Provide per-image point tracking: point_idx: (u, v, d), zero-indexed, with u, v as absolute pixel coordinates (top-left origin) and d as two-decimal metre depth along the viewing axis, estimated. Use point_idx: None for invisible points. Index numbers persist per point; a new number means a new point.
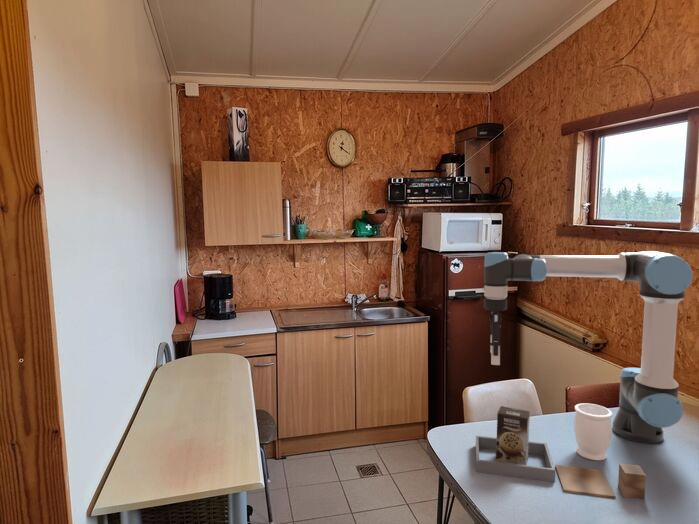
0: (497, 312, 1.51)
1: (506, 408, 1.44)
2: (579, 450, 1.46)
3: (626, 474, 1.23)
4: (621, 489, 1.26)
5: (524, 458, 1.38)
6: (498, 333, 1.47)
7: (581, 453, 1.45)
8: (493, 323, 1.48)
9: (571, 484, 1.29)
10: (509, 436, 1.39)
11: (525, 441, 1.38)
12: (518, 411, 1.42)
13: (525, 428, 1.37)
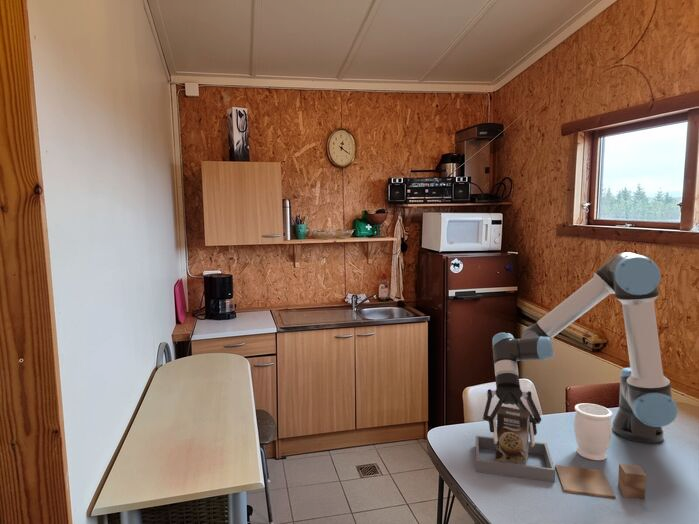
0: (496, 388, 1.50)
1: (506, 408, 1.44)
2: (579, 450, 1.46)
3: (626, 474, 1.23)
4: (621, 489, 1.26)
5: (524, 458, 1.38)
6: None
7: (581, 453, 1.45)
8: None
9: (571, 484, 1.29)
10: (509, 436, 1.39)
11: (525, 441, 1.37)
12: (518, 411, 1.42)
13: (525, 428, 1.37)
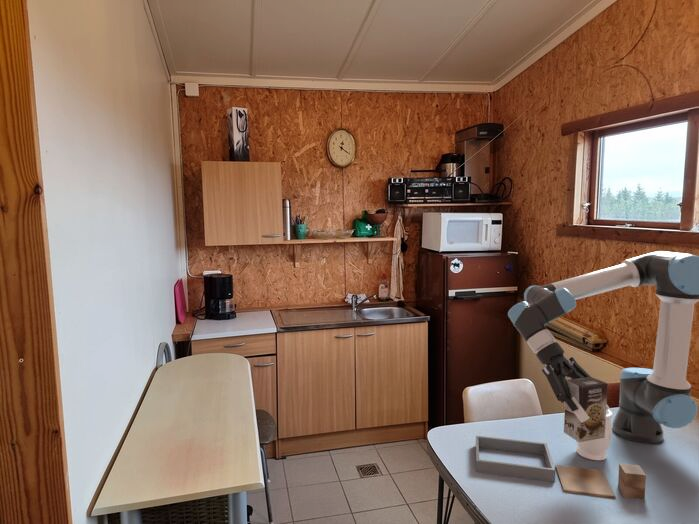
0: (549, 362, 1.33)
1: (575, 380, 1.30)
2: (579, 450, 1.46)
3: (626, 474, 1.23)
4: (621, 489, 1.26)
5: (604, 427, 1.28)
6: (556, 385, 1.28)
7: (581, 453, 1.45)
8: (547, 377, 1.31)
9: (571, 484, 1.29)
10: (593, 408, 1.26)
11: (605, 408, 1.28)
12: (587, 379, 1.30)
13: (606, 394, 1.27)
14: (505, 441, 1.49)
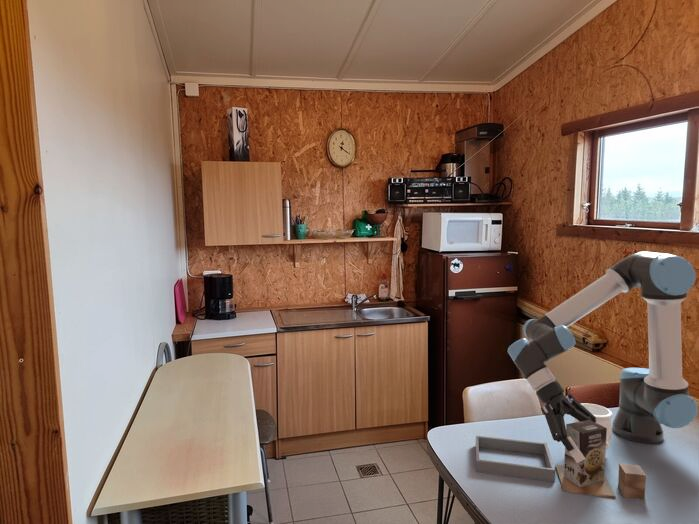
0: (549, 401, 1.34)
1: (574, 424, 1.31)
2: None
3: (626, 474, 1.23)
4: (621, 489, 1.26)
5: (603, 471, 1.30)
6: (553, 424, 1.29)
7: None
8: (546, 415, 1.32)
9: (571, 484, 1.29)
10: (593, 453, 1.27)
11: (604, 452, 1.29)
12: (586, 423, 1.31)
13: (605, 439, 1.29)
14: (505, 441, 1.49)
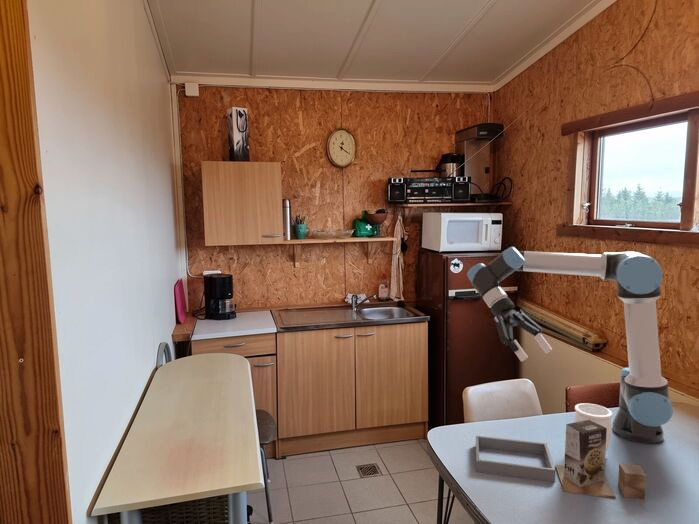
0: (500, 313, 1.53)
1: (574, 424, 1.31)
2: None
3: (626, 474, 1.23)
4: (621, 489, 1.26)
5: (603, 471, 1.30)
6: (502, 330, 1.47)
7: None
8: (496, 324, 1.50)
9: (571, 484, 1.29)
10: (593, 453, 1.27)
11: (604, 452, 1.29)
12: (586, 423, 1.31)
13: (605, 439, 1.29)
14: (505, 441, 1.49)
